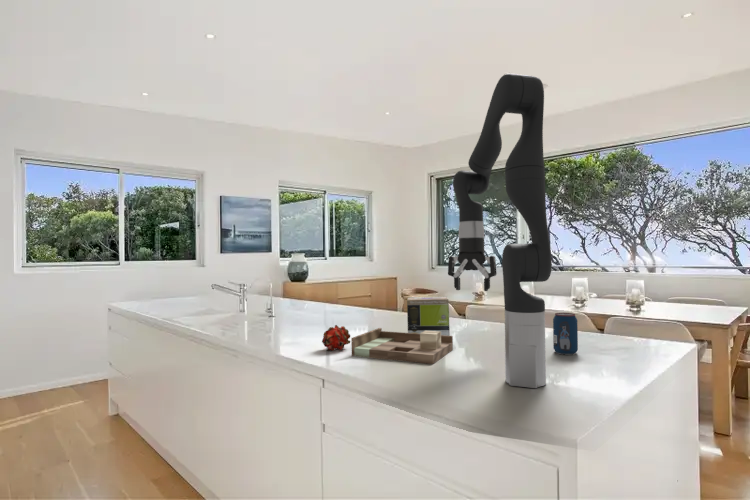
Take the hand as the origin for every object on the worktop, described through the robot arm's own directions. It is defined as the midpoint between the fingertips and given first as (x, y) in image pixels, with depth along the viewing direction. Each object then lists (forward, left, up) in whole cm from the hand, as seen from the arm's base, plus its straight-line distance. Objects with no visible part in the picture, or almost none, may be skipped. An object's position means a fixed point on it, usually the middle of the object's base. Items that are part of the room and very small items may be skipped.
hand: (472, 290), depth 140 cm
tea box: (+23, +22, -20) cm, 37 cm away
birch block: (-4, +12, -17) cm, 21 cm away
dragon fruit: (-8, +43, -20) cm, 48 cm away
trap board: (-4, +21, -20) cm, 29 cm away
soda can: (+15, -25, -20) cm, 35 cm away
